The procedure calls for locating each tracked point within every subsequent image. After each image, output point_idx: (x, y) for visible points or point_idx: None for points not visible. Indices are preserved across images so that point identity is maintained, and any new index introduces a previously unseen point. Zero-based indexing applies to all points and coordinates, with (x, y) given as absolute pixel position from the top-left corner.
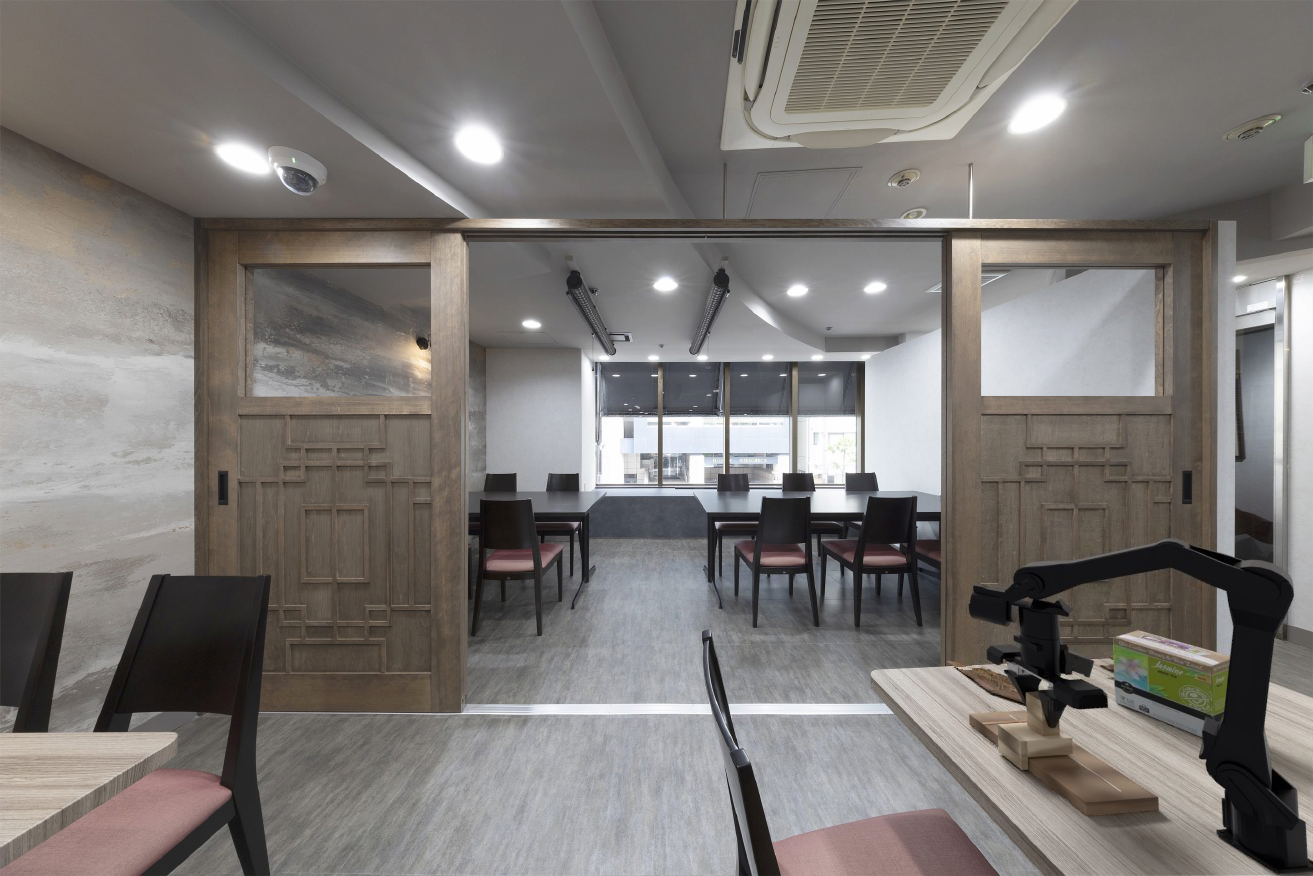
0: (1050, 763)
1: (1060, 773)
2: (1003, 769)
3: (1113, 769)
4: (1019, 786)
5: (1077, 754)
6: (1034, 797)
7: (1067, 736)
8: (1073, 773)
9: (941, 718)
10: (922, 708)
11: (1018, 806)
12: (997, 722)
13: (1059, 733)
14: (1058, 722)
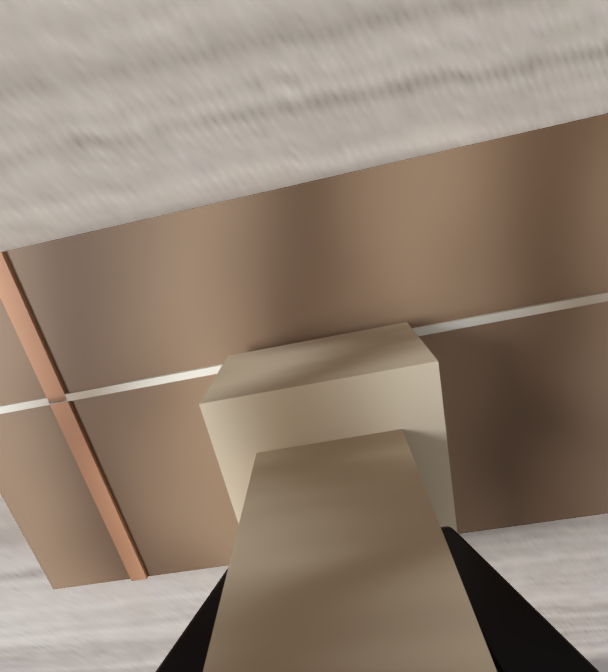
0: (459, 466)
1: (539, 472)
2: None
3: (532, 149)
4: (501, 574)
5: (378, 272)
6: (562, 561)
7: (418, 384)
8: (547, 415)
9: (70, 620)
10: (8, 652)
11: (598, 626)
12: (108, 512)
13: (405, 439)
14: (436, 517)
